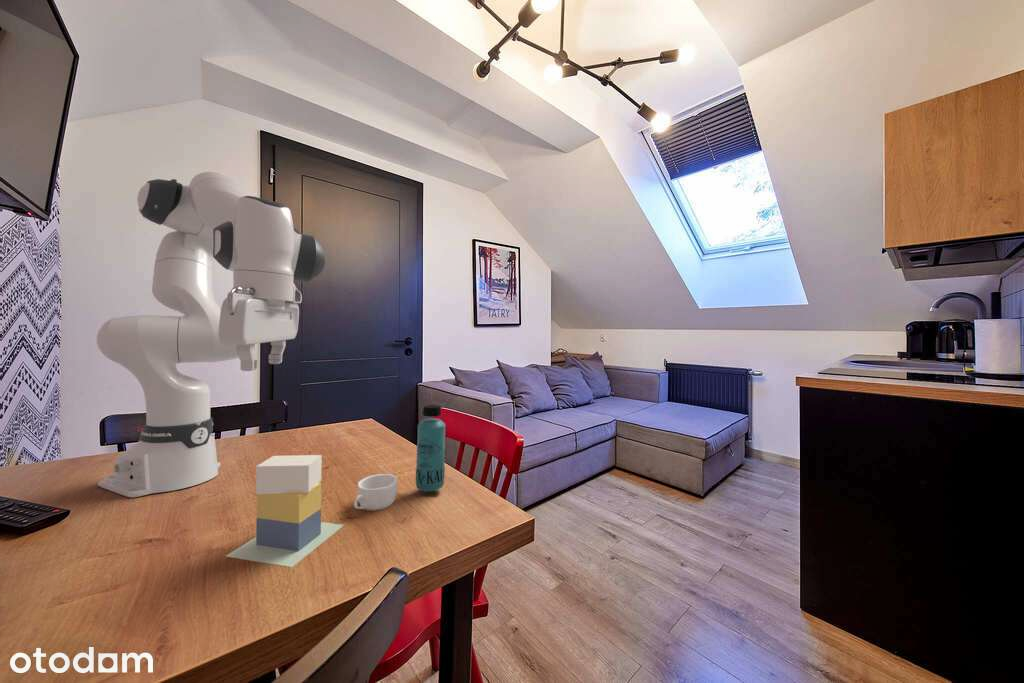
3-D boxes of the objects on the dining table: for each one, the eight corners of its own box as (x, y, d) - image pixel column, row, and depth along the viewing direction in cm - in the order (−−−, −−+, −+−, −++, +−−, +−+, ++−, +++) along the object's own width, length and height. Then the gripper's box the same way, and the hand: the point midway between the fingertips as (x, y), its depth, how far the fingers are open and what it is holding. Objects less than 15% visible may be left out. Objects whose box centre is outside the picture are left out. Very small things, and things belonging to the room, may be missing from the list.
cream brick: (255, 494, 57) (256, 466, 57) (273, 481, 62) (273, 455, 62) (308, 492, 58) (308, 465, 58) (321, 480, 63) (321, 455, 63)
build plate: (225, 561, 55) (225, 556, 55) (287, 521, 67) (287, 517, 67) (291, 572, 53) (292, 567, 53) (343, 529, 65) (343, 524, 65)
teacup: (376, 495, 78) (377, 471, 78) (404, 502, 76) (405, 477, 75) (339, 516, 69) (340, 489, 69) (369, 525, 66) (370, 497, 66)
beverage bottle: (417, 486, 84) (419, 402, 83) (446, 485, 84) (447, 402, 84) (412, 498, 77) (414, 408, 77) (443, 498, 78) (445, 408, 77)
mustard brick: (256, 517, 58) (256, 490, 58) (281, 503, 63) (281, 478, 63) (298, 523, 57) (299, 495, 56) (321, 508, 61) (321, 483, 61)
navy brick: (256, 544, 58) (256, 517, 58) (281, 528, 63) (281, 503, 63) (298, 551, 57) (298, 523, 57) (320, 534, 62) (321, 508, 61)
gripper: (253, 286, 53) (251, 376, 54) (305, 295, 74) (303, 361, 74) (205, 283, 52) (204, 375, 53) (272, 293, 72) (270, 359, 73)
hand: (263, 366), depth 64 cm, fingers open, 8 cm apart
